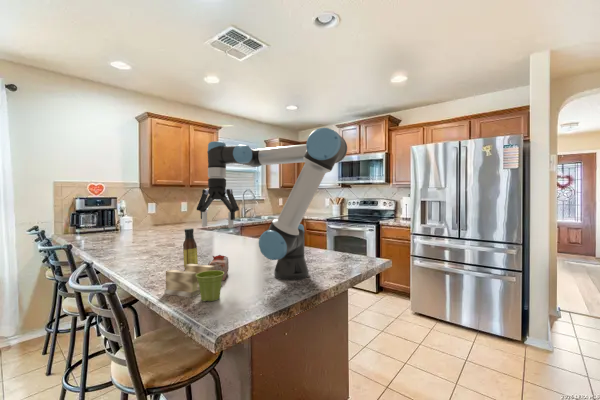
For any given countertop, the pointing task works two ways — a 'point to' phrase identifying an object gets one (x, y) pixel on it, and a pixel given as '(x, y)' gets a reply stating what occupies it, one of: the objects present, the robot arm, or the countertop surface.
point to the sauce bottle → (189, 248)
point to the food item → (220, 264)
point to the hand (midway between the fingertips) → (217, 227)
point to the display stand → (185, 280)
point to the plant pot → (210, 284)
